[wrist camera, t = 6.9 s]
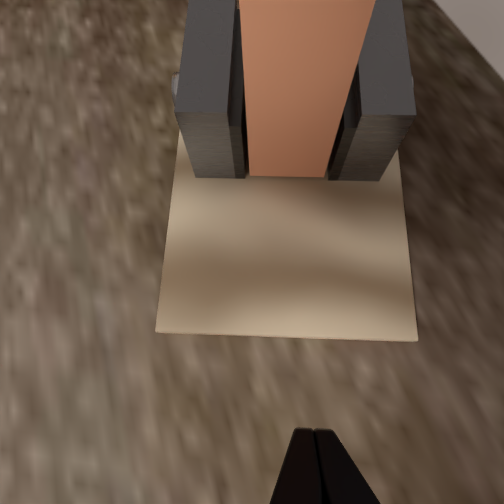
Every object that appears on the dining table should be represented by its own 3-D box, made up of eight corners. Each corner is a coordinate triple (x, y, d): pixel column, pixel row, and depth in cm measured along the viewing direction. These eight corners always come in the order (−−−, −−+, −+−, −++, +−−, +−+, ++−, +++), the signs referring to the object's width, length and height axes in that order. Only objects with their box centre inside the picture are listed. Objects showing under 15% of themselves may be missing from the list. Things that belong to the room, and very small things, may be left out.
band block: (395, 181, 23) (438, 115, 17) (179, 177, 24) (153, 111, 18) (385, 78, 26) (419, -9, 20) (191, 76, 26) (171, -9, 21)
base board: (413, 341, 20) (418, 340, 20) (158, 332, 21) (155, 331, 20) (385, 68, 27) (388, 61, 26) (189, 66, 27) (188, 59, 27)
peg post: (323, 177, 23) (383, -26, 12) (249, 175, 23) (237, -26, 12) (321, 97, 25) (370, -142, 14) (253, 96, 25) (245, -140, 14)
